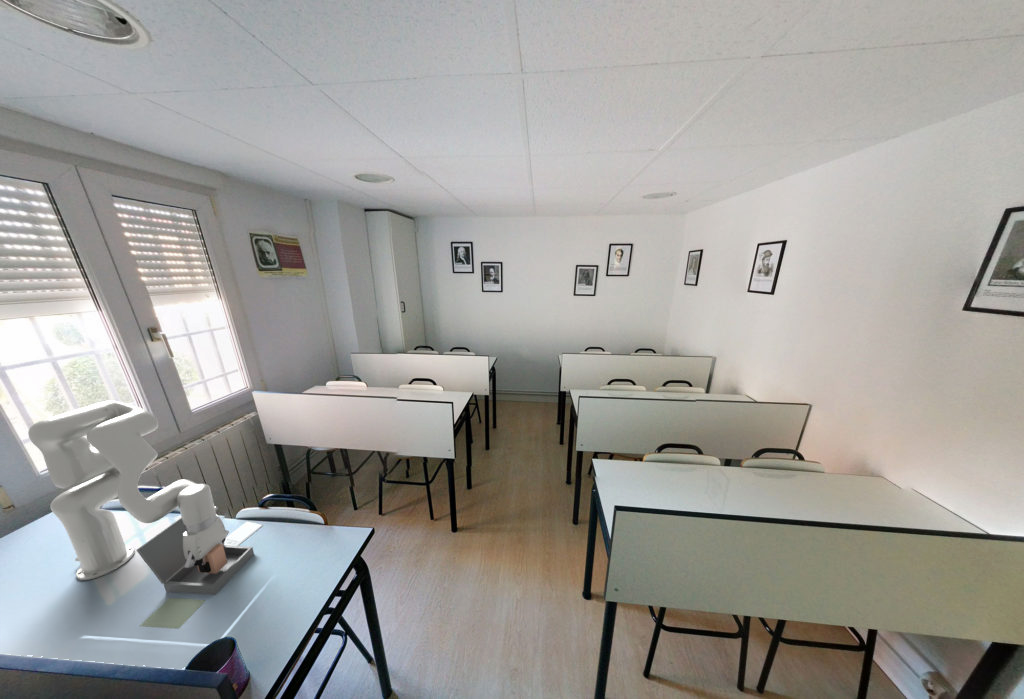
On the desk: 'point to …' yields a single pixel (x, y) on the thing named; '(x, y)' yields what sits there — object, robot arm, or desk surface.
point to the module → (216, 559)
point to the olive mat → (173, 613)
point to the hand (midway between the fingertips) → (212, 564)
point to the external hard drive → (242, 533)
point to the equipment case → (170, 563)
